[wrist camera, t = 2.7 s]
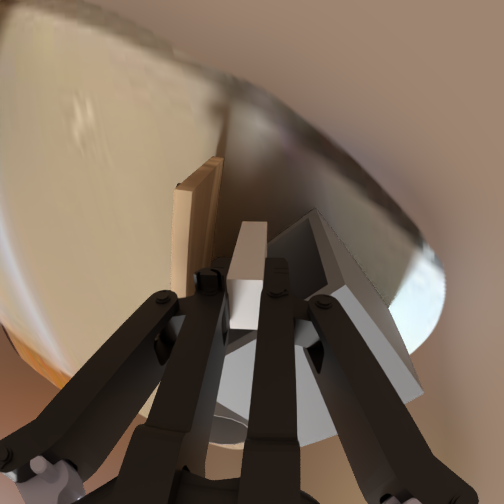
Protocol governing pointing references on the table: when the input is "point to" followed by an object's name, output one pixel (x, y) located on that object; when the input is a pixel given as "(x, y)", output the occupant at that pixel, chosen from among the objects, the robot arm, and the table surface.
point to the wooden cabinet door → (194, 225)
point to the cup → (227, 427)
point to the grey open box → (308, 394)
